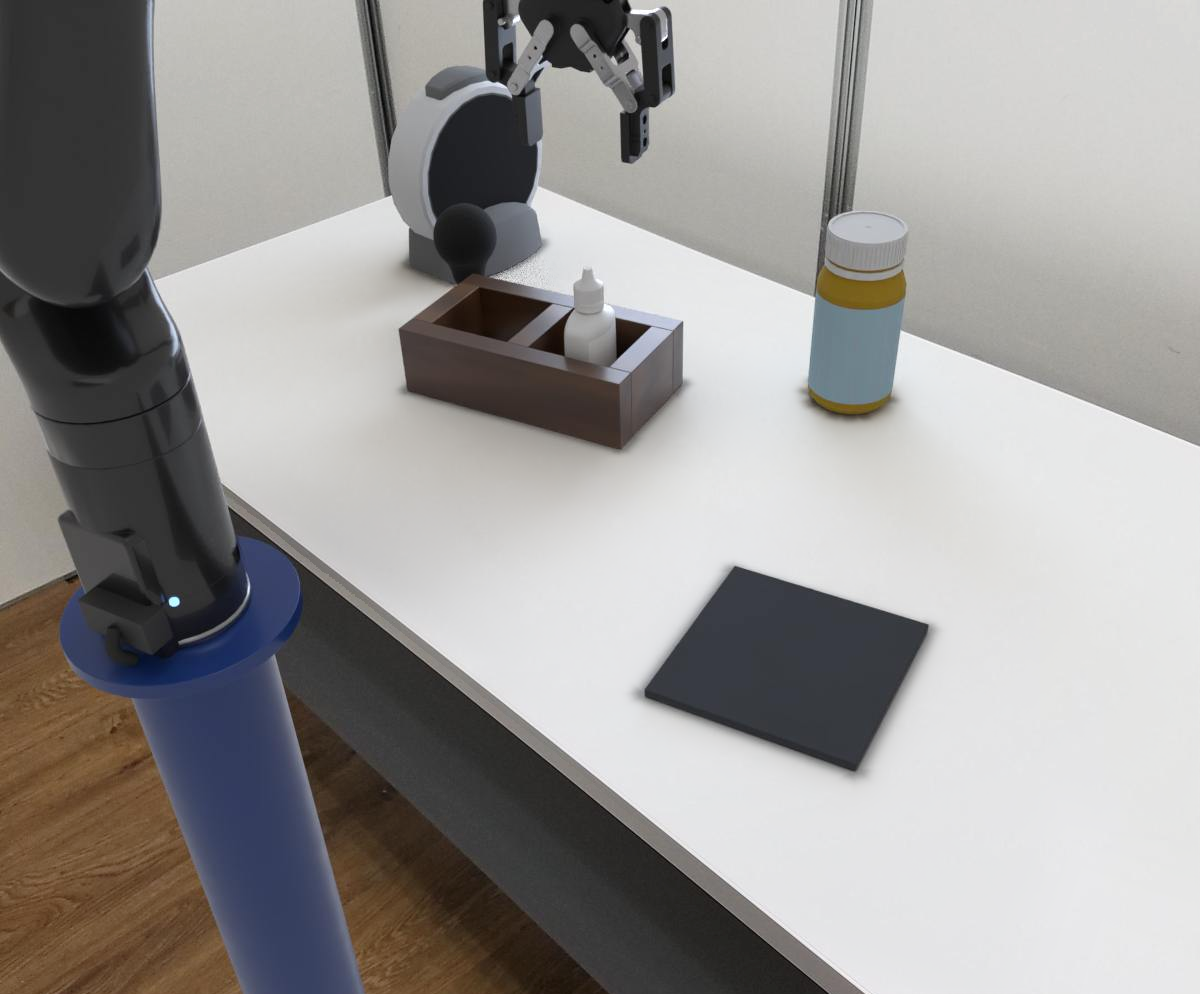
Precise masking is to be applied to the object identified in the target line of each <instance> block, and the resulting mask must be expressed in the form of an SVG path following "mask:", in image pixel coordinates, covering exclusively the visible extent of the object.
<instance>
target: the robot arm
mask: <svg viewBox="0 0 1200 994" xmlns="http://www.w3.org/2000/svg"><path fill="white" fill-rule="evenodd" d="M155 4H156V0H0V344H1V345H2V348H3V350H4V352H5V355H7V357H8V359H9V361H10V363H11V365H12V367H13V369H14V371H15V374H16V375H17V377H18V379H19V382H20V384H21V386H22V389H23V392H24V394H25V397H26V400H27V402H28V405H29V406H30V409H31V412H32V415H33V418H34V420H35V423H36V426H37V428H38V432H39V433H40V436H41V439H42V441H43V444H44V447H45V451H46V453H47V455H48V458H49V461H50V464H51V467H52V469H53V472H54V475H55V477H56V480H57V482H58V486H59V488H60V490H61V493H62V496H63V498H64V501H65V504H66V506H67V509H66V510H64V511H63V512H62V513H60V514H59V515H58V517H57V524H58V527H59V528H60V529H59V530H60V531H61V534H62V537H63V539H64V543H65V544H66V547H67V550H68V553H69V555H70V558H71V560H72V563H73V565H74V568H75V571H76V574H77V575H78V579H79V581H80V585H82V587H83V589H84V592H85V594H84V595H83V596H82V597H81V598H79V599H78V603H79V605H80V608H81V611H82V613H83V616H84V618H85V621H86V623H87V626H88V629H90V630H92V631H95V632H97V633H99V634H102V635H104V636H106V637H105V650H106V653H107V655H108V656H109V658H110V659H111V660H113V661H115V662H117V663H119V664H123V665H128V666H130V667H131V666H134V665H135V664H136V663H137V662H138V659H139V658H138V655H137V654H135V653H133V652H130V651H126V650H122V649H121V647H120V642H121V643H124V644H126V645H129V646H131V647H133V648H136V649H138V650H141V651H143V652H146V653H148V654H150V655H153V654H154V655H157V656H159V657H162V658H164V659H168V658H170V657H171V656H173V655H174V654H175V653H176V652H178V651H179V650H181V649H183V648H188V647H192V646H195V645H198V644H201V643H204V642H206V641H208V640H211V639H213V638H215V637H217V636H219V635H220V634H222V633H224V632H225V631H227V630H228V629H229V628H231V627H232V626H233V625H234V624H235V623H236V622H238V621H239V620H240V618H241V617H242V616H243V615H244V613H245V612H246V610H247V609H248V607H249V604H250V601H251V597H252V589H251V585H250V581H249V578H248V575H247V573H246V572H245V569H244V565H243V561H242V558H241V554H240V550H239V546H240V544H239V546H238V543H239V541H238V543H237V540H238V537H237V539H236V536H238V535H237V531H236V528H235V527H234V523H233V521H232V517H231V514H230V511H229V505H228V502H227V499H226V496H225V492H224V488H223V484H222V480H221V477H220V473H219V470H218V466H217V462H216V458H215V455H214V452H213V448H212V444H211V439H210V437H209V432H208V429H207V426H206V422H205V419H204V414H203V410H202V407H201V403H200V399H199V395H198V392H197V388H196V384H195V380H194V376H193V373H192V369H191V367H190V362H189V358H188V355H187V352H186V348H185V344H184V341H183V338H182V334H181V332H180V329H179V327H178V326H177V323H176V321H175V319H174V317H173V316H172V314H171V312H170V310H169V309H168V307H167V306H166V304H165V302H164V300H163V298H162V296H161V294H160V292H159V290H158V287H157V285H156V283H155V282H154V279H153V276H152V274H151V272H150V270H149V264H150V262H151V260H152V258H153V255H154V254H155V251H156V249H157V246H158V241H159V238H160V233H161V228H162V218H163V217H162V216H163V195H162V193H163V191H162V177H161V162H160V161H161V160H160V146H159V132H158V115H157V98H156V97H157V96H156V80H155V50H154V49H155V47H154V43H155V42H154V38H155V37H154V36H155V35H154V34H155V20H154V19H155V9H156V8H155V7H156V5H155ZM482 19H483V20H482V22H483V42H484V43H483V44H484V46H483V47H484V65H485V66H484V67H485V69H484V70H486V77H487V79H488V80H489V81H490V82H492V83H496V82H497V83H500V84H503V85H504V86H506V87H507V88H508V90H509V92H510V93H511V95H512V104H513V115H514V116H513V117H514V129H515V131H516V134H517V136H520V142H521V144H522V145H527V146H532V145H534V144H535V143H537V142H538V141H540V140H541V141H542V138H543V135H544V126H543V125H544V124H543V109H542V95H541V87H537V86H536V85H537V83H538V82H539V80H540V79H541V77H542V75H543V74H544V72H545V71H546V69H547V68H548V66H549V65H550V64H551V68H554V69H567V68H572V69H574V70H576V71H579V72H582V73H588V74H590V73H592V72H595V73H596V75H597V76H598V79H600V82H601V83H602V84H603V85H604V86H605V87H606V88H610V90H611V91H612V93H613V94H614V96H615V98H616V99H617V101H618V103H619V104H620V105H621V107H622V109H623V110H622V111H621V112H619V128H620V131H619V132H620V134H619V135H620V136H619V137H620V160H621V163H623V164H629V165H634V164H635V162H637V161H638V160H639V159H641V158H642V157H643V154H644V153H645V152H647V151H648V148H649V145H650V108H652V109H653V108H657V107H659V105H661V104H662V103H664V101H666V100H668V99H669V98H671V97H672V96H674V94H675V93H676V76H675V74H676V72H675V71H676V70H675V55H674V35H673V16H672V12H671V10H670V8H669V7H667V6H665V5H660V6H659V7H657V8H655V9H653V10H646V9H645V10H644V9H633V8H632V5H631V3H630V1H629V0H482ZM520 20H521V22H522V24H523V25H524V27H525V28H526V30H527V32H528V33H529V35H530V37H531V38H530V40H529V41H528V42H527V45H526V46H525V48H524V49H523V51H522V53H521V55H520V57H519V58H518V59H517V57H518V56H517V24H518V23H519V22H520ZM630 31H632V32H633V35H634V41H635V43H636V44H637V45H639V46H640V52H641V63H642V64H641V66H642V67H641V68H642V72H641V71H640V68H639V65H640V62H639V59H638V58H637V56H636V54H635V53H634V51H633V50H632V48H631V46H630V45H629V43H628V41H627V40H626V36H627V35H628V33H629V32H630ZM612 58H614V59H615V61H616V64H617V65H616V64H614V63H613V62H612ZM240 549H241V547H240ZM241 553H242V550H241ZM242 556H243V554H242ZM243 559H244V558H243ZM244 563H245V562H244ZM245 566H246V565H245Z"/></svg>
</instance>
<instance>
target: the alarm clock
mask: <svg viewBox="0 0 1200 994" xmlns="http://www.w3.org/2000/svg"><path fill="white" fill-rule="evenodd" d="M513 116H514V115H513V104H512V95H511V93H510V92H509V90H508V88H507V87H506V86H504V85H503V84H501V83H499V82H496V83H492V82H490V81H489V80H488V79H487V77H486V69H484V68H481V67H477V66H472V65H471V66H470V65H455V66H454V65H453V66H447V67H446V68H444V69H442V70H440V71H439V72H437V73H436V74H435V75H433V76H431V78H430V79H429V80H428V81H427V83H426V84H425V85H424V86H423V87H422V88H421V89H420V90H419V91H418V92H417V93H415V95H414V96H413V97H411V99H410V100H409V102H408V104H407V105H406V107H405V108H404V110H403V111H402V113H401V114H400V116H399V118H398V121H397V124H396V126H395V129H394V132H393V134H392V136H391V139H390V140H391V142H390V148H389V153H388V159H387V171H388V186H389V190H390V195H391V198H392V202H393V205H394V207H395V209H396V211H397V212H398V214H399V216H400V218H401V219H402V222H404V223H405V225H407V226H408V264H409V266H410V267H412V268H415V269H417V270H419V271H421V272H423V273H426V274H428V275H431V276H433V277H434V278H437V279H439V280H442V281H444V282H446V283H449V284H451V285H457V284H456V282H455V280H454V278H453V275H452V271H451V269H450V267H449V265H448V264H447V263H446V262H445V261H444V260H443V259H442V258H441V256H440V255H439V254H438V252H437V250H436V248H435V244H434V239H433V231H434V226H435V223H436V221H437V219H438V217H439V216H440V215H441V214H442V212H443V211H444V210H446V209H447V208H449V207H450V206H453V205H456V204H460V203H468V204H473V205H475V206H478V207H480V208H481V209H483V210H484V211H485V212H486V213H487V214H488V215H489V216H490V217H491V219H492V220H493V222H494V225H495V228H496V233H497V242H496V246H495V250H494V252H493V254H492V256H491V257H490V258H489V260H488V262H487V264H486V270H485V276H486V277H490V276H493V275H495V274H498V273H500V272H502V271H505V270H508V269H511V268H512V267H514V266H516V265H518V264H519V263H521V262H523V261H525V260H527V259H528V258H530V257H531V256H532V255H533V254H535V253H536V252H537V251H538V250H539V249H540V248H541V247H542V245H543V241H542V235H541V230H540V225H539V221H538V219H539V218H538V214H537V211H536V210H535V209H534V208H532V207H531V206H532V204H533V200H534V198H535V195H536V192H537V190H538V187H539V182H540V178H541V172H542V168H543V166H542V165H543V143H542V139H541V140H540V141H538V142H537V143H535V144H534V145H532V146H527V145H522V144H521V142H520V136H517V134H516V131H515V129H514V117H513Z"/></svg>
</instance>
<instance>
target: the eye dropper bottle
mask: <svg viewBox="0 0 1200 994" xmlns="http://www.w3.org/2000/svg"><path fill="white" fill-rule="evenodd" d="M572 285H573V286H572V288H573V289H572V290H573V296H574V308H575V309H574V310H573V312H572V313H571V314H570V316H569V318H568V320H567V322H566V326H565V331H564V348H565V357H568V358H572V359H576V360H580V361H584V362H589V363H593V364H597V365H601V366H605V367H610V366H611V365H612V364H613V363H614V362H615V361H616V360H617V355H616V322H615V312H614V310H613V308H612V307H611V306H609V305H607V304H608V303H606V304H604V303H605V290H604V289H605V287H604V286H605V285H604V282H603V281H602V280H601V279H598V278H596V277H595V274H594V270H593V267H592V266H589V265H587V266H584V267H583V269H582V274H581V278H580V279H577V280H576V281H575V282H574V283H573V284H572Z"/></svg>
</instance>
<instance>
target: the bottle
mask: <svg viewBox="0 0 1200 994" xmlns="http://www.w3.org/2000/svg"><path fill="white" fill-rule="evenodd" d="M825 235H826V236H825V246H824V247H825V248H824V251H825V252H824V264H823V266H822V268H821V270H820V272H819V274H818V277H817V279H816V286H815V294H814V295H815V297H814V308H813V318H812V319H813V320H812V329H811V330H812V332H811V340H810V341H811V342H810V352H809V353H810V354H809V363H808V374H807V375H808V376H807V390H808V393H809V395H810V396H811V397H812V399H813V400H814V401H815V402H816V403H817V404H818V405H819V406H820V407H822V408H823V409H825V410H827V411H830V412H833V413H836V414H842V415H863V414H867V413H872V412H873V411H875V410H877V409H879V408H881V407H882V406H883V405H884V404H886V403H887V402H888V401H889V400H890V398H891V396H892V393H893V387H894V382H895V374H896V366H897V360H898V359H897V358H898V352H899V344H900V339H901V338H900V337H901V329H902V324H903V317H904V308H905V301H906V294H907V280H906V276H905V271H904V266H905V256H906V253H907V245H908V239H909V226H908V224H907V222H906V221H904V220H903V219H902V218H900V217H899V216H896V215H894V214H891V213H888V212H883V211H877V210H862V209H861V210H852V211H846V212H842V213H839V214H836V215H835V216H833V217H832V218H831V219H830V220H829V221H828V224H827V227H826V234H825Z"/></svg>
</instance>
